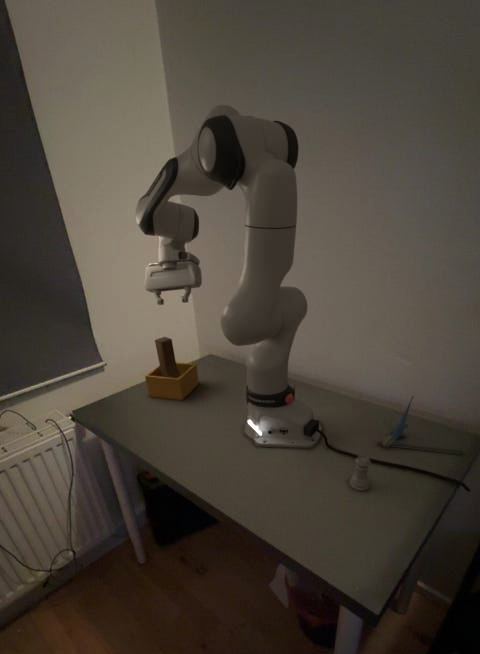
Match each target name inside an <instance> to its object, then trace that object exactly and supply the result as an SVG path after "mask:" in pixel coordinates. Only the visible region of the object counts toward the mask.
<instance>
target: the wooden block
mask: <svg viewBox="0 0 480 654" xmlns="http://www.w3.org/2000/svg"><path fill="white" fill-rule="evenodd" d="M154 344H155V349H156V354H157V358H158V362H159V365H160V369H161V374H162V377H168V378H179V377H180V376H181V375H180V373H179V372H178V369H177V366H176V362H177V361H176V356H175V355H176V354H175V351H174V345H173V339H172V338H171V337H168V336H163V337H160V338H157V339H155V340H154Z"/></svg>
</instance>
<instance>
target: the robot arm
mask: <svg viewBox="0 0 480 654" xmlns="http://www.w3.org/2000/svg"><path fill="white" fill-rule="evenodd" d="M298 158H299V139H298V136H297V134H296V132H295V130H294V129H293V128H292V127H291V126H290V125H289V124H287V123H285V122H282V121H280V120H269V119H266V118H261V117H260V118H259V117H255V116H253V115H241V113H240V112H239V111H238V110H237V109H235V108H234V107H233V106H231V105H228V104H219V105H216V106H214V107H213V108H212V109H211V110H210V111H209V112H208V114H207V115H206V116H205V118H204V119H203V121H202V122H201V124H200V125H199V127H198V129H197V131H196V133H195V135H194V138H193V139H192V141H191V143H190V145H189V146H188V147H187V149H185V151H183V152H182V153H180V154H179V155H177V156H174V157H171V158H169V159H168V160H167V161H166V163H165V164H164V165H163V167H162V168H161V170H159V173H158V174H157V176H156V177H155V179H154V180H153V181H152V183H151V185H150V186H149V188H148V190H147V191H146V193H144V194H143V195H142V196H141V197H140V198H139V200H138V201H137V204H136V208H135V222H136V226H137V227H138V228H139V229H140V231H141V232H142V233H143V234H144V235H145V236H152V237H155V236H156V237H158V240H159V244H158V247H157V248H158V250H157V252H158V254H157V255H158V257H157V258H158V261H156V262H150V263H148V265H147V266H146V267H145V275H144V289H145V290H146V291H147V292H149V293H153V294H154V297H155V298H156V303H157V305H159V306H164V304H165V299H164V298H162V296H161V295H162V292H170V291H179V290H180V291H181V290H184V291H185V292H184V294H183V295H182V296H181V303H184V304H185V303H189V297H190V295H191V294H192V289H197V288H198V289H199V288H200V287H201V286H202V284H203V277H202V269H201V267H200V263H201V261H200V259H199V258H198V257H197V256H196V255H195V254H193V253H192V252H190V251H186V244H189V243H191V242H192V241H194V240H195V239H196V238H197V237H198V235H199V233H200V232H199V231H200V217H199V215H198V213H197V211H196V210H195V208H194V207H192V206H189V205H185V204H182V203H177V202H174V201H170V199H171V198H172V197H176V196H180V195H184V196H185V195H187V196H198V197H210V196H214V195H216V194H217V193H219V192H221V190H223V189H224V188H226V189H227V190H229V191H233V189H235V187H236V186H238V187H239V188H240V190H241V191H242V193H243V197H244V201H245V203H244V204H245V205H244V206H245V207H244V232H243V233H244V237H243V239H244V240H243V242H244V244H243V261H242V268H241V273H240V276H239V280H238V283H237V285H236V288H235V291H234V293H233V295H232V297H231V299H230V300H229V302H228V304H227V305H226V306H225V307H224V309H223V310H222V311H221V314H220V315H221V316H220V329H221V330H222V334H223V336H224V337H225V338H226V340H227V341H228V342H229V343H231V344H232V345H234V346H238V347H242V346H250V345H254V346H253V348H252V349H251V351H250V353H249V354H248V355H247V358H246V364H245V365H246V381H247V383H246V385H245V388H246V389H245V399H246V404H247V412H246V413H247V414H246V420H245V425H244V433H245V434H246V435H247V437H249V438H250V439H252V440H253V442H254V444H255V446H257V447H263V448H264V447H265V448H291V449H292V448H293V449H294V448H295V449H311V448H313V447H315V445H317V443H318V442H319V441H320V439H321V436H322V437H323V439H324V440H323V441H324V444H325V446H326V447H327V448H328V449H329V450H332V451H334V452H336V453H339V454H342V455H346V456H350V457H353V458H355V459H357V458H358V456H360V454H356V453H352V452H348V451H345V450H340V449H337V448H335V447H333V446H331V444H329V442H328V436H327V435H326V434H325V432H323V431H322V430H323V429H322V424H321V422H320V420H319V419H316V418H315V417H314V412H313V410H312V408H311V407H310V406H309V405H307V404H306V403H304V402H303V401H301V400H300V399H299V398H297V397H296V385H293V387H292V386H291V385H290V384H289V383H288V380H289V379H288V378H289V361H290V355H291V350H292V347H293V344H294V340H295V337H296V334H297V331H298V330H299V327H300V325H301V324H302V322H303V320H304V319H305V318H306V315H307V313H308V300H307V298H306V296H305V293H303V291H302V290H300V288H298V287H295V286H287V285H286V286H281V285H282V283H283V282H284V279H285V278H286V276H287V275H288V273H289V272H290V271H291V269H292V267H293V264H294V257H295V248H296V247H295V246H296V233H297V223H298V185H297V184H298V182H297V175H296V171H295V168H296V167H297V163H298ZM369 459H370V461H371V463H376V464H380V465H384V466H389V467H395V468H400V469H405V470H409V471H414V472H417V473H421V474H424V475H429V476H432V477H435V478H438V479H441V480H444V481H448V482H450V483H451V482H452V483H455V484H458V485H459V486H461V487H462V488H463V489H464V490H465V491H466V492H468V493H470V492H471V489H470V488H469V486H467V484H466V483H464V482H463V481H461V480H459V479H456V478H453V477H449V476H444V475H442V474H438V473H435V472H433V471H430V470H425V469H421V468H417V467H413V466H409V465H405V464H400V463H393V462H388V461H383V460H379V459H374V458H370V457H369Z"/></svg>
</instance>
